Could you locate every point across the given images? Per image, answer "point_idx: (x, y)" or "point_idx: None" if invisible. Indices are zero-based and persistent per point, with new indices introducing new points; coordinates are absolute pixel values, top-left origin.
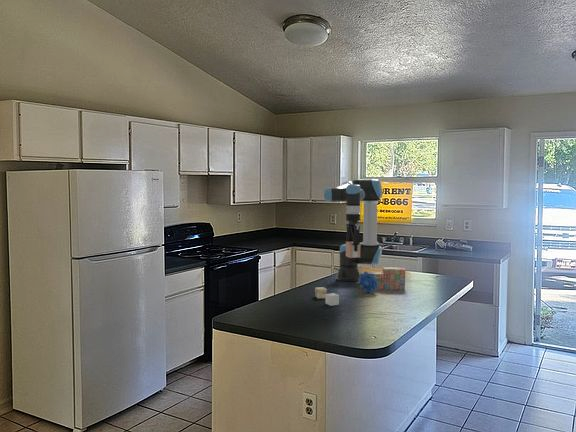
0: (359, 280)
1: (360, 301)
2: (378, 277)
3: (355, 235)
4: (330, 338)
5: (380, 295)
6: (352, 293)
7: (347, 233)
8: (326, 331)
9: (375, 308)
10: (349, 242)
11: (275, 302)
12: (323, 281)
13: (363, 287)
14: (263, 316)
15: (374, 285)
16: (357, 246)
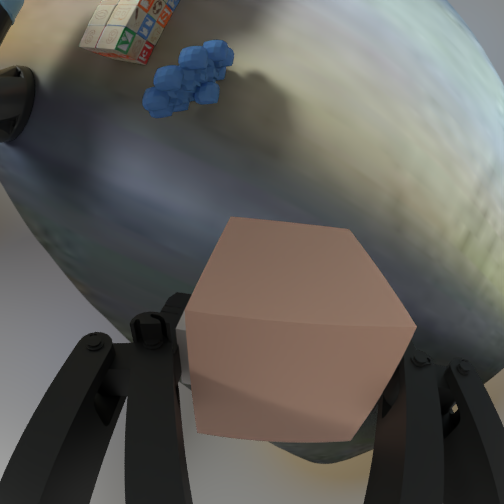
0: (165, 115)
1: (341, 192)
2: (143, 12)
3: (469, 490)
4: (494, 367)
5: (271, 62)
6: (197, 156)
7: (92, 490)
8: (476, 368)
9: (438, 200)
10: (311, 436)
11: None
12: (19, 191)
13: (189, 102)
14: None
15: (227, 61)
16: (415, 348)
